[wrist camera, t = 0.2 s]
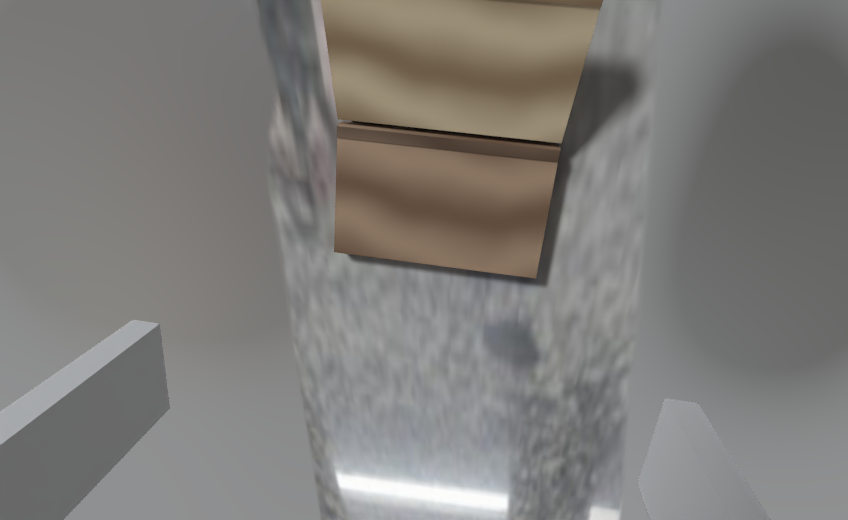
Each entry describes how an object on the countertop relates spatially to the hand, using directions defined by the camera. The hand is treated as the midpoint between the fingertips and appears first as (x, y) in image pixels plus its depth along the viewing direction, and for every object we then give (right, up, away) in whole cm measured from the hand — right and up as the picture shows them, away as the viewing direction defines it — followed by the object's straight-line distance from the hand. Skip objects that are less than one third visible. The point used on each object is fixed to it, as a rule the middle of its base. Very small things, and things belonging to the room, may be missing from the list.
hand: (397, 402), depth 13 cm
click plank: (+3, +17, +19) cm, 26 cm away
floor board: (+2, +9, +26) cm, 27 cm away
